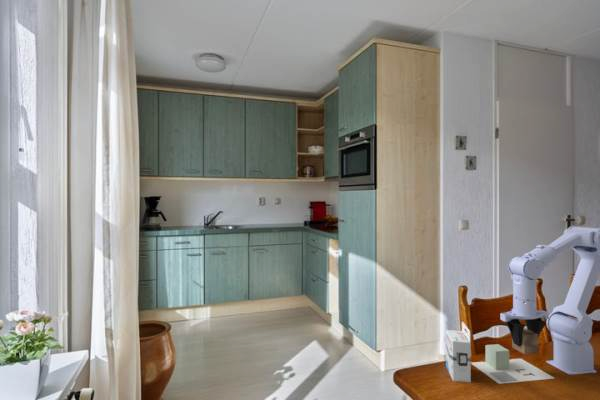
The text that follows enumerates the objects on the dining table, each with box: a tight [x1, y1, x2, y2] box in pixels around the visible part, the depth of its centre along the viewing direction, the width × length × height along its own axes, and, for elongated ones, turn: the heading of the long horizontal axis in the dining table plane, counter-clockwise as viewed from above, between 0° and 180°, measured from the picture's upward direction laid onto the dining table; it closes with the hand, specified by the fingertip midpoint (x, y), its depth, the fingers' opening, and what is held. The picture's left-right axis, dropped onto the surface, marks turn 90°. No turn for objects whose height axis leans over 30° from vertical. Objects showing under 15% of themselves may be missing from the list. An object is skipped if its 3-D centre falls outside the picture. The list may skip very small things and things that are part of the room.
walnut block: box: [511, 328, 539, 355], centre depth 97 cm, size 4×4×6 cm
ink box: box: [445, 321, 472, 383], centre depth 97 cm, size 9×5×15 cm, turn 168°
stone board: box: [471, 357, 555, 385], centre depth 99 cm, size 18×12×1 cm, turn 99°
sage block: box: [484, 343, 510, 370], centre depth 101 cm, size 4×4×6 cm
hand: (524, 344), depth 97 cm, fingers closed on walnut block, 4 cm apart
